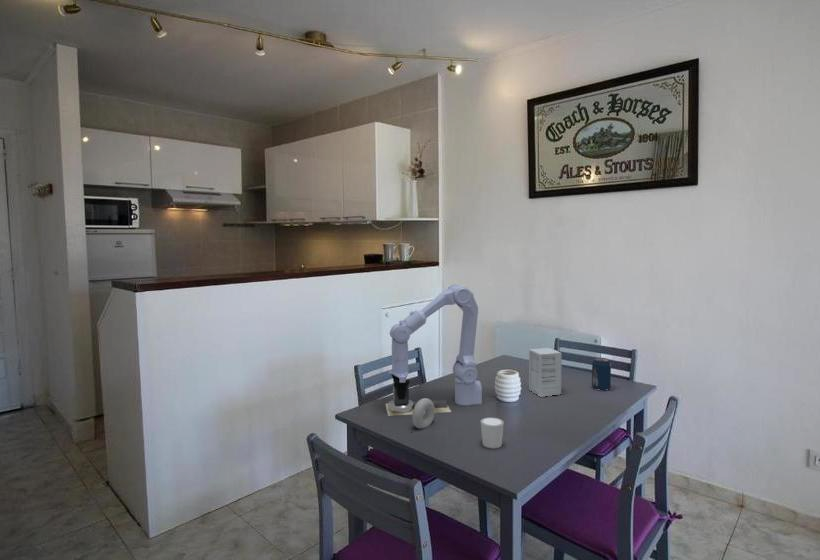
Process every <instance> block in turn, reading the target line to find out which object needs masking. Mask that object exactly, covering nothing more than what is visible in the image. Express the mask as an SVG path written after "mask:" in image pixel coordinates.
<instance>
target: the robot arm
mask: <svg viewBox="0 0 820 560" xmlns="http://www.w3.org/2000/svg"><path fill="white" fill-rule="evenodd" d="M448 305H449V306H453V305H457V306H458V307H459V309H460V310H461V311H462V318H461V319H462V321H461V330H460V331H461V332H460V333H461V334H460V340H459V341H460V342H459V351H458V355H457V356H456V357H455V362H454V364H453V366H452V371H453V374H454V375H455V379H454V402H455V404H456V405H460V406H472V405H473V406H474V405H483V404H482V403H483V400H482V399H483V397H482V395H483V393H482V392H483V390H482V389H483V387H482V383H481V381H480V380H479V379H478V380H477V378H478V369H477V362H476V359H475V357H474V356H475V345H476V338H477V337H476V335H477V325H478V316H479V307H478V304H477V301H476V300H475V297H474V293H473V291H471V290H470V289H469V287H466V286H461V285H459V284H456V283H455V284H451V285H450V286H448V287H447V288H445V289H444V290H442V291H441V292H440V293H439V294H438V295H437V296H436V297H435V298H434V299H432V300H431V301H430V302H429V303H428V304H426V305H425V306H424V307H423V308H422V309H420V310H417V309H416V310H414V311H413V310H411V311H409V315H407V316H406V317H405V318H404V319H402V320H401V319H400V320H399V321H398V323H396V324H394V325H393V326H392V327H391V329H390V330H389V336H390V337H391V370H388V374H389V375H390V376H391V377H392V382H393V383H394V384H395V386H396V389H397V395H398V399H399V400H401V399H405V395H406V390H407V387H408V386H409V385H410V382H411V380H410V379H406V378H407V377H408V375H409V374H410V370H409V345H408V341H409V339H410V338H411V335H413V334H414V333H415V332H416V331H418V330H419V329H420V328H422V327H423V326H424V325H425V324H427V318H429V317H430V316H431V315H434V313H436V312H437V311H439V310H440V309H441V308H443V307H444V306H448Z"/></svg>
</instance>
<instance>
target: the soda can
mask: <svg viewBox="0 0 820 560" xmlns="http://www.w3.org/2000/svg"><path fill="white" fill-rule="evenodd" d="M591 363H592V364H591V369H592V370H591V386H592V388H593V389H594V388H595V389H600V390H606V389H608V390H609V389H610V388H611V377H612V376H611V374H612V372H611V371H612V364H611V362H610V359H609V358H606V357H594V358H593V361H592V362H591ZM595 389H594V390H595Z"/></svg>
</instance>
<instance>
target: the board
mask: <svg viewBox="0 0 820 560" xmlns="http://www.w3.org/2000/svg"><path fill="white" fill-rule="evenodd" d="M384 404H385V409H386V412H387V416H388V417H390V416H392V417H393V416H408V415H411V416H412V415H413V410H414V408H413V410H412V411H410V412H407V413H393V412H390V411H389V410H388V402H386V403H384ZM447 406H448V407H447V408H435V414H440V413H452V410H451V409H450V406H449V405H448V404H447ZM424 412H425V411H424ZM423 415H424V413H423Z"/></svg>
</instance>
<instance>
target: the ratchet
mask: <svg viewBox="0 0 820 560" xmlns="http://www.w3.org/2000/svg"><path fill="white" fill-rule="evenodd" d="M431 401H432V402H433V404H434V407H435V408H447V407H449V405H448V402H447V400H446V399H440V400H431ZM417 402H418V401H413V400H411V399H409V404H397V405H394V401H393V399H391V400H388V402H387V403H388V410H389V411H390V412H393V413H407V412H410V411H412V410H413V408H414V407H415V405H416V404H417ZM447 405H448V406H447Z"/></svg>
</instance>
